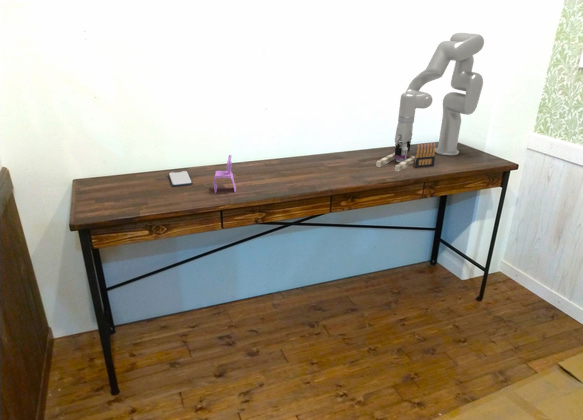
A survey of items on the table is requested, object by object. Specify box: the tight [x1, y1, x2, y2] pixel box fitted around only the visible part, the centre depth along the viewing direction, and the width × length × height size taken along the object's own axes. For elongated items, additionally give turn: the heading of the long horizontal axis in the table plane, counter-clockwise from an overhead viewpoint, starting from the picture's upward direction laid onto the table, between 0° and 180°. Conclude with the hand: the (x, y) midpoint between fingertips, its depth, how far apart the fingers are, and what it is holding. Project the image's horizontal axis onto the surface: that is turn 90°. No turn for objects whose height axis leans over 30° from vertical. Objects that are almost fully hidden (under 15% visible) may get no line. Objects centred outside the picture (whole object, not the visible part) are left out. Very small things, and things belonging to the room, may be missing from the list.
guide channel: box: [375, 151, 415, 172], centre depth 225 cm, size 20×12×2 cm, turn 142°
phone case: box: [168, 170, 193, 188], centre depth 201 cm, size 9×2×16 cm
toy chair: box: [213, 154, 237, 194], centre depth 188 cm, size 8×9×15 cm
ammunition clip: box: [412, 141, 436, 169], centre depth 221 cm, size 11×2×12 cm, turn 107°
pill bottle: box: [395, 143, 408, 164], centre depth 228 cm, size 5×5×10 cm
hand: (402, 153), depth 228 cm, fingers open, 9 cm apart
